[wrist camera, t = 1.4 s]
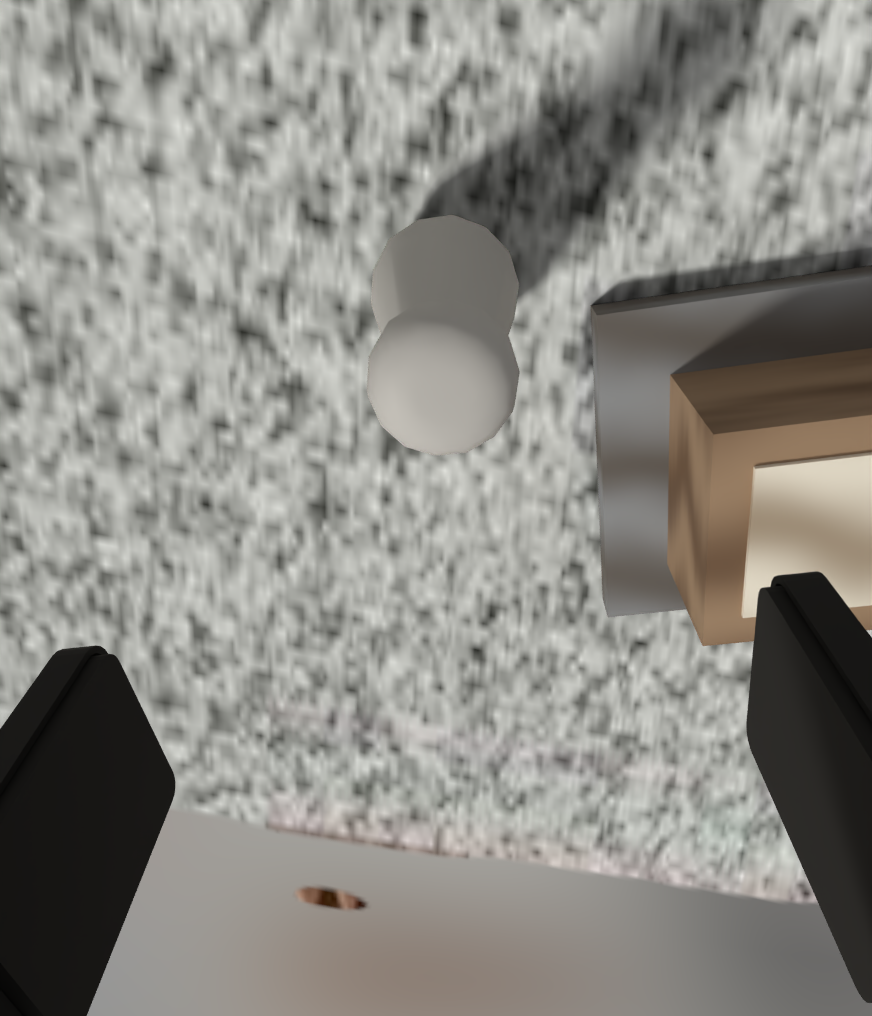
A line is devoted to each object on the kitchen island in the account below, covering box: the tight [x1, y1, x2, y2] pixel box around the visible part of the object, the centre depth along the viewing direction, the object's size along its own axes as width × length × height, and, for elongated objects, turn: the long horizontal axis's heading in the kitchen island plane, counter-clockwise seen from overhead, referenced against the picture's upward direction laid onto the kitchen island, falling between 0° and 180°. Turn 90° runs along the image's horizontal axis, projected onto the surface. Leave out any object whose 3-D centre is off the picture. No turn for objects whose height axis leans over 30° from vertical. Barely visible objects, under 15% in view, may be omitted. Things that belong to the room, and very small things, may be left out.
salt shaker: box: [367, 215, 520, 455], centre depth 25 cm, size 6×6×13 cm
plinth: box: [591, 266, 872, 646], centre depth 31 cm, size 16×16×8 cm
